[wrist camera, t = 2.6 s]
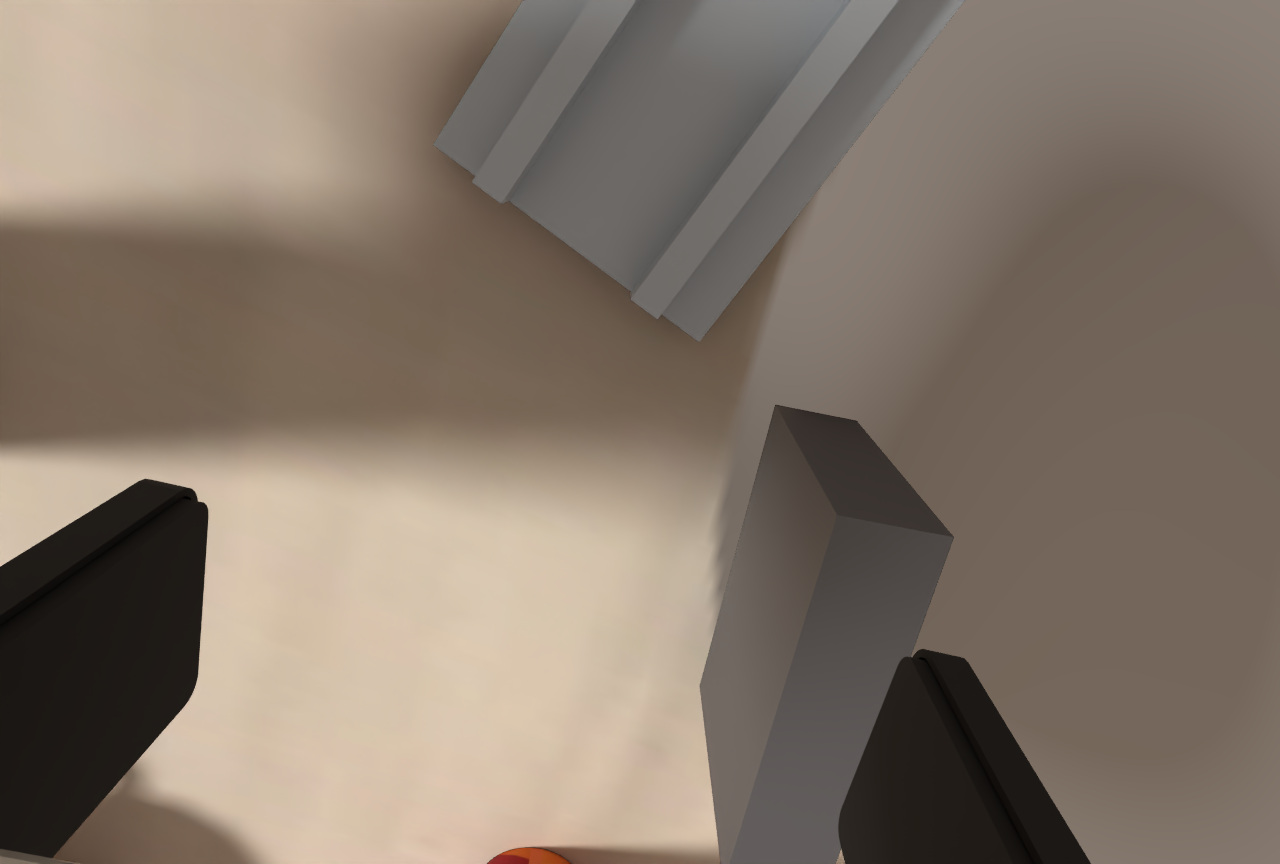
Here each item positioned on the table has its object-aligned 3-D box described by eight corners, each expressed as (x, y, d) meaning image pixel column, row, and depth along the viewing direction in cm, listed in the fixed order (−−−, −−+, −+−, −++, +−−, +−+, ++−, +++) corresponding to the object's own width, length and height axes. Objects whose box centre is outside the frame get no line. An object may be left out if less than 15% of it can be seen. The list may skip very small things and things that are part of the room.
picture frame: (780, 698, 38) (833, 901, 28) (699, 685, 38) (723, 884, 28) (865, 422, 34) (967, 539, 23) (775, 404, 34) (836, 514, 23)
